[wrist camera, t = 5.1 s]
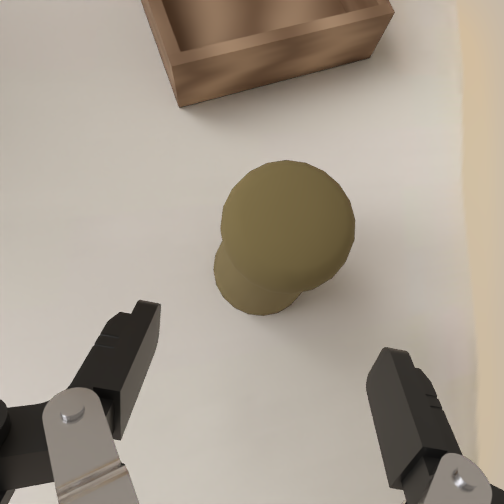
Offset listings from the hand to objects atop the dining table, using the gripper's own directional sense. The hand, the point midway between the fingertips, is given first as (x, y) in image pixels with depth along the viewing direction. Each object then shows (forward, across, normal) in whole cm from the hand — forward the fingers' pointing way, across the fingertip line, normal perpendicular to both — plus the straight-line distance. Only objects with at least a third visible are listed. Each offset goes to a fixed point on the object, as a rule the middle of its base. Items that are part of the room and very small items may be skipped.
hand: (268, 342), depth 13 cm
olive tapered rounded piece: (+10, 0, +4) cm, 11 cm away
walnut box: (+24, +5, -11) cm, 27 cm away
